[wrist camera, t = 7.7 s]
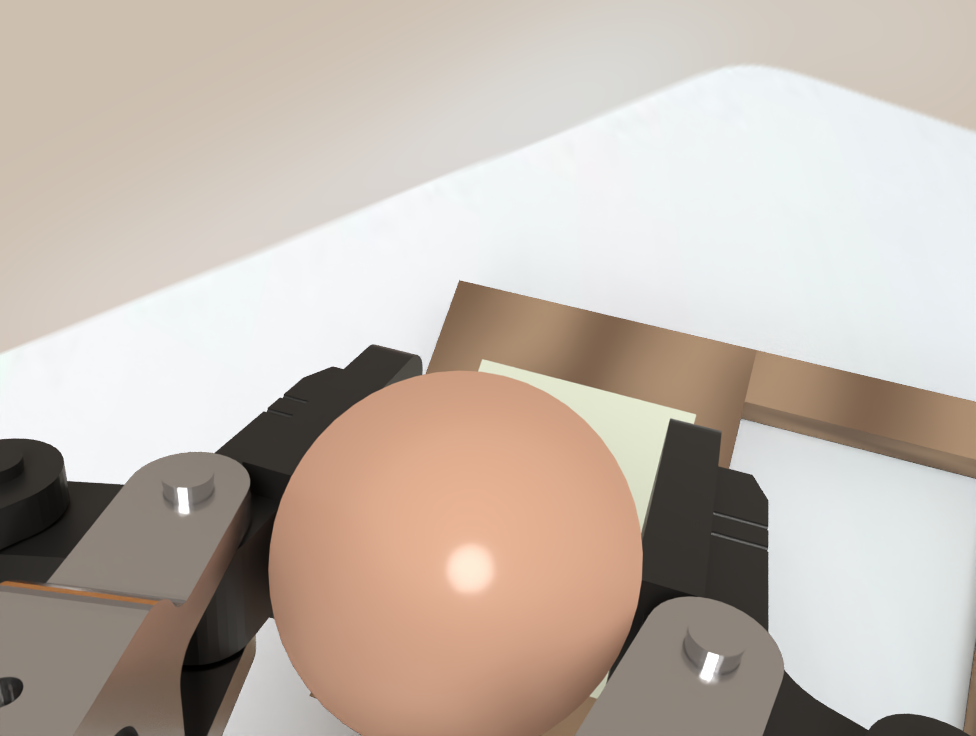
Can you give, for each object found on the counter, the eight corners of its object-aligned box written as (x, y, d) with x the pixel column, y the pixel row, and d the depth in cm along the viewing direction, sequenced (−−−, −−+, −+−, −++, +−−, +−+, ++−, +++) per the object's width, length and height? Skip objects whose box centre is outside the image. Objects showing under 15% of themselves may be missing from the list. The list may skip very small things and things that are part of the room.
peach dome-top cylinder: (645, 526, 15) (681, 419, 8) (594, 735, 14) (586, 820, 7) (457, 473, 16) (343, 335, 9) (395, 667, 15) (212, 682, 8)
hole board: (1115, 457, 28) (1157, 440, 26) (1065, 975, 23) (1112, 1008, 21) (468, 301, 33) (458, 277, 31) (329, 693, 29) (306, 696, 27)
